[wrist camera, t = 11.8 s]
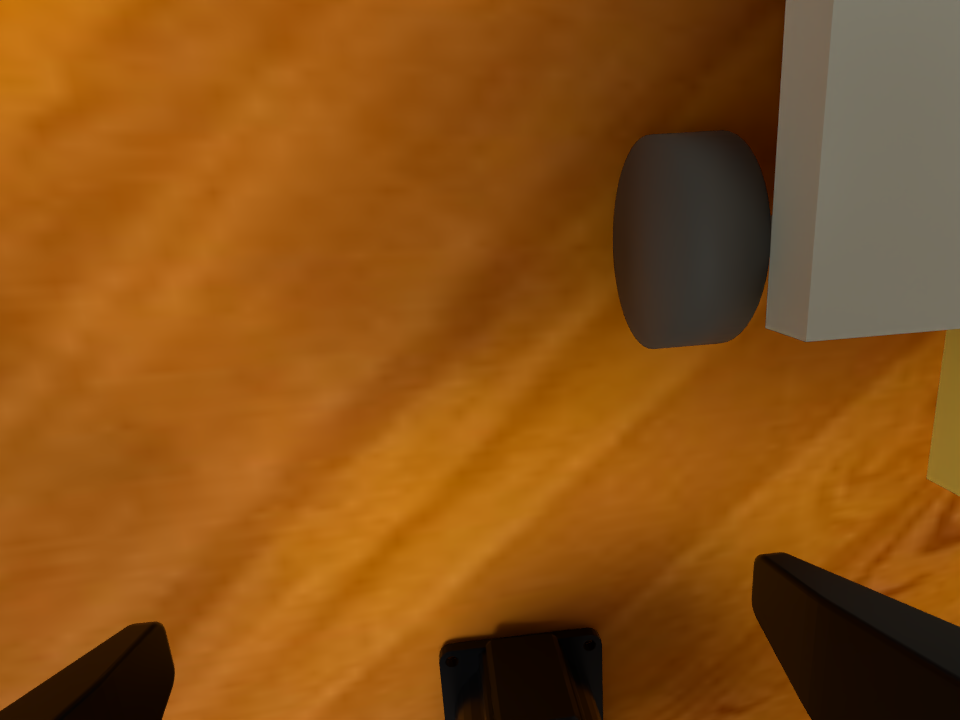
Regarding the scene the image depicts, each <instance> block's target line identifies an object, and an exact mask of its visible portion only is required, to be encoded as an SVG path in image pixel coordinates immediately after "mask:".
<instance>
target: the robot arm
mask: <svg viewBox="0 0 960 720" xmlns="http://www.w3.org/2000/svg"><path fill="white" fill-rule="evenodd" d="M752 607H753V611H754V613H755V616H756V618H757V620H758V622H759V624H760V626H761V628H762V630H763V631H764V633H765V635H766V637H767V639H768V641H769V643H770V645H771V646H772V648H773V650H774V652H775V654H776V656H777V658H778V660H779V661H780V663H781V665H782V667H783V669H784V671H785V673H786V675H787V676H788V678H789V680H790V682H791V684H792V686H793V688H794V690H795V691H796V693H797V695H798V697H799V699H800V701H801V702H802V704H803V706H804V708H805V709H806V711H807V713H808V714H809V716H810V718H811V719H812V720H960V627H959V626H956V625H954V624H952V623H949V622H947V621H945V620H942V619H940V618H938V617H935V616H933V615H930V614H928V613H926V612H923V611H921V610H919V609H916V608H914V607H912V606H909V605H907V604H905V603H902V602H900V601H897V600H895V599H893V598H890V597H888V596H886V595H883V594H881V593H879V592H876V591H874V590H872V589H869V588H867V587H864V586H862V585H860V584H857V583H855V582H853V581H850V580H848V579H846V578H843V577H841V576H839V575H836V574H834V573H831V572H829V571H827V570H824V569H822V568H820V567H817V566H815V565H813V564H810V563H808V562H806V561H803V560H801V559H798V558H796V557H794V556H791V555H789V554H787V553H782V552H779V553H770V554H761V555H759V556H757V557H756V559H755V561H754V570H753V586H752ZM588 640H592V641H591V642H590V643H588V644H585V642H586V641H588ZM451 656H454V657H456V658H455V659H448V657H451ZM439 664H440V674H441V684H442V694H443V704H444V714H445V720H603V688H602V643H601V639H600V637H599V634H598V632H597V631H596V630H594V629H592V628H581V629H573V630H564V631H556V632H547V633H538V634H530V635H521V636H513V637H504V638H495V639H487V640H478V641H470V642H461V643H452V644H448V645H445V646H444V647H443V648H442V649H441V650H440V654H439ZM174 677H175V668H174V663H173V659H172V655H171V651H170V647H169V643H168V639H167V635H166V631H165V628H164V626H163V625H162V624H161V623H159V622H146V623H137V624H132V625H129V626H127V627H126V628H124V629H123V630H121V631H120V632H118V633H117V634H115V635H114V636H112V637H111V638H109V639H108V640H106V641H105V642H103V643H102V644H100V645H99V646H97V647H96V648H94V649H93V650H91V651H90V652H88V653H87V654H85V655H84V656H82V657H81V658H79V659H78V660H76V661H75V662H73V663H72V664H70V665H69V666H67V667H66V668H64V669H63V670H61V671H60V672H58V673H57V674H55V675H54V676H52V677H51V678H49V679H48V680H46V681H45V682H43V683H42V684H40V685H39V686H37V687H36V688H34V689H33V690H31V691H30V692H28V693H27V694H25V695H24V696H22V697H21V698H19V699H18V700H16V701H15V702H13V703H12V704H10V705H9V706H7V707H6V708H4V709H3V710H1V711H0V720H162V717H163V714H164V711H165V708H166V705H167V702H168V699H169V696H170V693H171V690H172V687H173V683H174Z"/></svg>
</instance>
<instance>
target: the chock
mask: <svg viewBox="0 0 960 720" xmlns="http://www.w3.org/2000/svg"><path fill="white" fill-rule="evenodd" d="M926 479H928V480H930V481H932V482H934V483H936V484H938V485H940V486H941V487H943V488H945V489H947V490H949V491H951V492H953V493H954V494H956V495H958V496H960V329H950V330H946V336H945V344H944V351H943V359H942V366H941V373H940V381H939V388H938V396H937V403H936V411H935V418H934V425H933V433H932V440H931V448H930V455H929V462H928V470H927V477H926Z"/></svg>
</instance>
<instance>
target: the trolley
mask: <svg viewBox="0 0 960 720" xmlns="http://www.w3.org/2000/svg"><path fill="white" fill-rule="evenodd" d="M613 256H614V268H615V277H616V284H617V289H618V294H619V299H620V303H621V307H622V310H623V313H624V316H625V319H626V321H627V324H628V326H629V328H630V330H631V332H632V333H633V335H634V336H635V338H636V339H637V340H638V341H639V343H641V344H642V345H643V346H644V347H647V348H649V349H659V348H671V347H682V346H694V345H706V344H717V343H724V342H728V341H730V340H732V339H734V338H735V337H736V336H737V335H739V334H740V333H741V332H742V331H743V329H744V328H745V327H746V326H747V324H748V323H749V321H750V320H751V318H752V317H753V314H754V312H755V310H756V308H757V306H758V304H759V301H760V298H761V295H762V292H763V289H764V285H765V281H766V277H767V271H768V265H769V279H768V295H767V311H766V327H765V328H767V329H770V330H773V331H776V332H779V333H782V334H784V335H787V336H790V337H793V338H796V339H799V340H802V341H805V342H811V341H823V340H834V339H846V338H857V337H869V336H881V335H892V334H904V333H915V332H927V331H938V330H950V329H960V0H786V7H785V23H784V39H783V55H782V71H781V87H780V103H779V119H778V135H777V151H776V167H775V183H774V199H773V215H771V216H770V209H769V201H768V195H767V190H766V185H765V181H764V178H763V175H762V172H761V169H760V166H759V164H758V162H757V159H756V157H755V156H754V154H753V152H752V151H751V149H750V147H749V146H748V145H747V144H746V143H745V141H744V140H743V139H742V138H740V137H739V136H738V135H737V134H734V133H732V132H730V131H725V130H717V131H701V132H685V133H668V134H652V135H645V136H644V137H642V138H640V139H639V140H638V141H637V142H636V143H635V145H634V146H633V147H632V149H631V150H630V152H629V154H628V156H627V159H626V161H625V163H624V166H623V169H622V172H621V176H620V180H619V184H618V189H617V194H616V201H615V209H614V222H613ZM769 257H770V263H769Z"/></svg>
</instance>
